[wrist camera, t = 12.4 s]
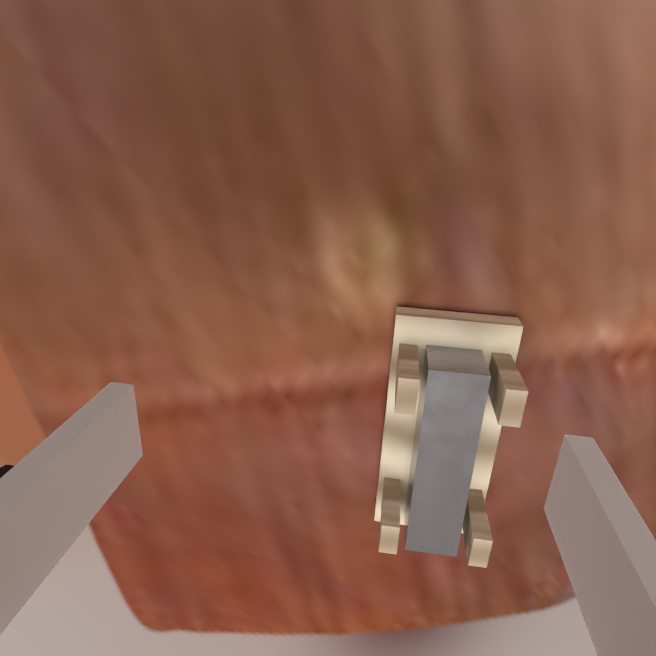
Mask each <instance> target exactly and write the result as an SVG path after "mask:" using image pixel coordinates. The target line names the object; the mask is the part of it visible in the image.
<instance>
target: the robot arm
mask: <svg viewBox="0 0 656 656" xmlns="http://www.w3.org/2000/svg"><path fill="white" fill-rule="evenodd" d="M142 456H143V454H142V446H141V439H140V431H139V424H138V416H137V409H136V401H135V394H134V386H133V385H132V384H123V383H115V382H110V383H109V384H108V385H107V386H106V387H104V388H103V389H102V390H101V391H100V392H99V393H98V394H96V395H95V396H94V397H93V398H92V399H91V400H90V401H88V402H87V403H86V404H85V405H84V406H83V407H82V408H80V409H79V410H78V411H77V412H76V413H75V414H74V415H72V416H71V417H70V418H69V419H68V420H67V421H65V422H64V423H63V424H62V425H61V426H60V427H59V428H57V429H56V430H55V431H54V432H53V433H52V434H51V435H49V436H48V437H47V438H46V439H45V440H44V441H43V442H42V443H40V444H39V445H38V446H37V447H36V448H35V449H33V450H32V451H31V452H30V453H29V454H28V455H27V456H25V457H24V458H23V459H22V460H21V461H20V462H18V464H16V465H15V466H11V465H5V466H3V467H1V468H0V634H1V633H2V632H3V631H4V629H5V628H6V627H7V626H8V624H9V623H10V622H11V621H12V619H13V618H14V617H15V616H16V614H17V613H18V612H19V611H20V609H21V608H22V607H23V606H24V604H25V603H26V602H27V600H28V599H29V598H30V597H31V595H32V594H33V593H34V592H35V590H36V589H37V588H38V587H39V585H40V584H41V583H42V582H43V580H44V579H45V578H46V576H47V575H48V574H49V573H50V571H51V570H52V569H53V568H54V566H55V565H56V564H57V563H58V561H59V560H60V559H61V558H62V556H63V555H64V554H65V552H66V551H67V550H68V549H69V548H70V546H71V545H72V544H73V543H74V541H75V540H76V539H77V537H78V536H79V535H80V534H81V532H82V531H83V530H84V529H85V527H86V526H87V525H88V524H89V522H90V521H91V520H92V519H93V517H94V516H95V515H96V514H97V512H98V511H99V510H100V508H101V507H102V506H103V505H104V503H105V502H106V501H107V500H108V498H109V497H110V496H111V495H112V493H113V492H114V491H115V490H116V488H117V487H118V486H119V485H120V483H121V482H122V481H123V480H124V478H125V477H126V476H127V474H128V473H129V472H130V471H131V469H132V468H133V467H134V466H135V464H136V463H137V462H138V461H139V459H140V458H141V457H142ZM544 511H545V513H546V516H547V519H548V522H549V524H550V527H551V530H552V532H553V535H554V538H555V541H556V543H557V546H558V549H559V551H560V554H561V557H562V560H563V562H564V565H565V568H566V571H567V573H568V576H569V579H570V581H571V584H572V587H573V590H574V592H575V595H576V598H577V600H578V603H579V606H580V608H581V611H582V614H583V617H584V620H585V622H586V624H587V628H588V630H589V633H590V636H591V639H592V641H593V644H594V647H595V649H596V652H597V655H598V656H656V540H655V539H654V537H653V535H652V534H651V532H650V530H649V529H648V527H647V526H646V524H645V522H644V521H643V519H642V517H641V516H640V514H639V512H638V511H637V509H636V507H635V506H634V504H633V503H632V501H631V499H630V498H629V496H628V494H627V493H626V491H625V489H624V488H623V486H622V485H621V483H620V481H619V480H618V478H617V476H616V475H615V473H614V471H613V470H612V468H611V466H610V465H609V463H608V462H607V460H606V458H605V457H604V455H603V453H602V452H601V450H600V448H599V447H598V445H597V443H596V442H595V440H594V439H593V438H591V437H582V436H574V435H565V436H564V439H563V443H562V446H561V450H560V453H559V457H558V460H557V464H556V467H555V471H554V474H553V478H552V482H551V485H550V489H549V492H548V496H547V499H546V503H545V506H544Z"/></svg>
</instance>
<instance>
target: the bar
mask: <svg viewBox="0 0 656 656" xmlns="http://www.w3.org/2000/svg"><path fill="white" fill-rule="evenodd" d="M490 379H491V374H490V371H489V369H488V366H487V363H486V360H485V357H484V354H483V351H482V350H478V349H467V348H456V347H445V346H434V345H426V349H425V357H424V365H423V373H422V381H421V388H420V396H419V404H418V412H417V420H416V428H415V436H414V443H413V451H412V459H411V467H410V475H409V483H408V491H407V498H406V506H405V550H412V551H419V552H426V553H433V554H441V555H448V556H455V557H457V552H458V547H459V542H460V536H461V531H462V526H463V521H464V515H465V510H466V505H467V500H468V494H469V489H470V484H471V479H472V474H473V468H474V463H475V458H476V453H477V447H478V442H479V437H480V432H481V426H482V421H483V416H484V411H485V406H486V400H487V395H488V390H489V385H490Z"/></svg>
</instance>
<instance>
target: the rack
mask: <svg viewBox="0 0 656 656" xmlns="http://www.w3.org/2000/svg"><path fill="white" fill-rule="evenodd" d="M522 331H523V325H522V323H521V322H520V320H519V318H518V317H509V316H498V315H487V314H476V313H464V312H453V311H442V310H431V309H420V308H408V307H397V306H396V316H395V325H394V335H393V344H392V354H391V363H390V373H389V382H388V392H387V401H386V411H385V421H384V430H383V440H382V449H381V459H380V468H379V478H378V487H377V497H376V506H375V520H374V521H380V538H379V552H384V553H390V554H396V553H397V545H398V538H399V531H400V524H401V525H405V506H406V498H407V491H408V483H409V475H410V467H411V459H412V451H413V443H414V436H415V428H416V420H417V412H418V404H419V396H420V388H421V381H422V373H423V365H424V357H425V349H426V345H434V346H445V347H456V348H467V349H478V350H482V351H483V354H484V357H485V360H486V363H487V366H488V369H489V371H490V374H491V379H490V385H489V390H488V395H487V400H486V406H485V411H484V416H483V421H482V426H481V432H480V437H479V442H478V447H477V453H476V458H475V463H474V468H473V474H472V479H471V484H470V489H469V494H468V500H467V505H466V510H465V515H464V521H463V526H462V531H461V533H463V534H464V540H465V547H466V554H467V561H468V565H471V566H478V567H484V568H487V564H488V559H489V555H490V551H491V547H492V542H493V539H492V535H491V530H490V526H489V521H488V516H487V512H486V507H485V499H486V495H487V490H488V486H489V481H490V476H491V472H492V467H493V463H494V458H495V454H496V449H497V445H498V440H499V436H500V431H501V426H511V427H520V425H521V421H522V416H523V412H524V408H525V404H526V400H527V395H528V390H527V387H526V385H525V383H524V381H523V379H522V377H521V375H520V373H519V370H518V368H517V366H516V364H515V363H516V358H517V354H518V349H519V345H520V340H521V335H522Z"/></svg>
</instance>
